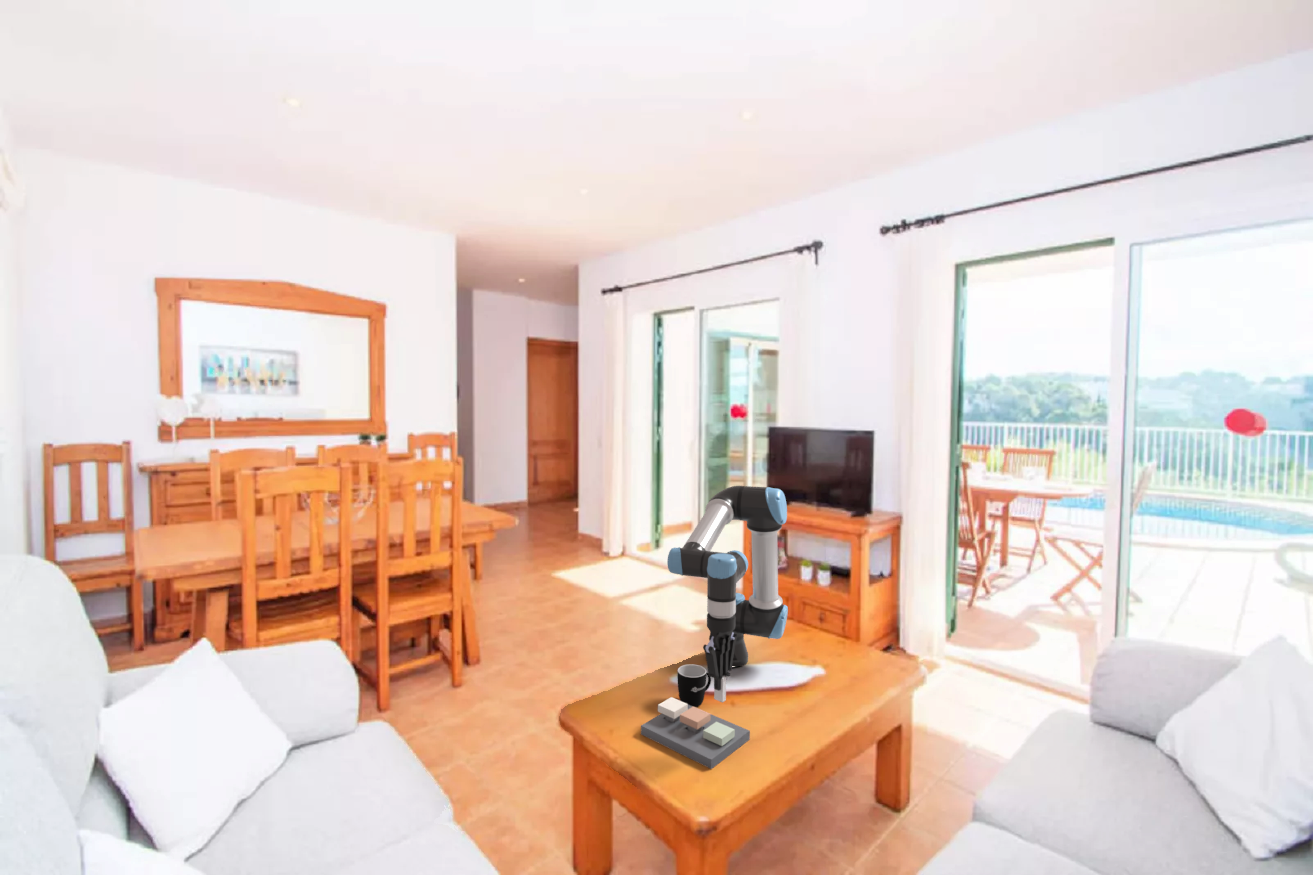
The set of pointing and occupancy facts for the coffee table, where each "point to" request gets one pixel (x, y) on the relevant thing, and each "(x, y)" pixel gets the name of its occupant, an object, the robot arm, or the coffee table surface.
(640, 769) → the coffee table surface
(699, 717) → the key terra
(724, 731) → the key sage
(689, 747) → the keypad base
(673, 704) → the key ivory
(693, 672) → the mug
